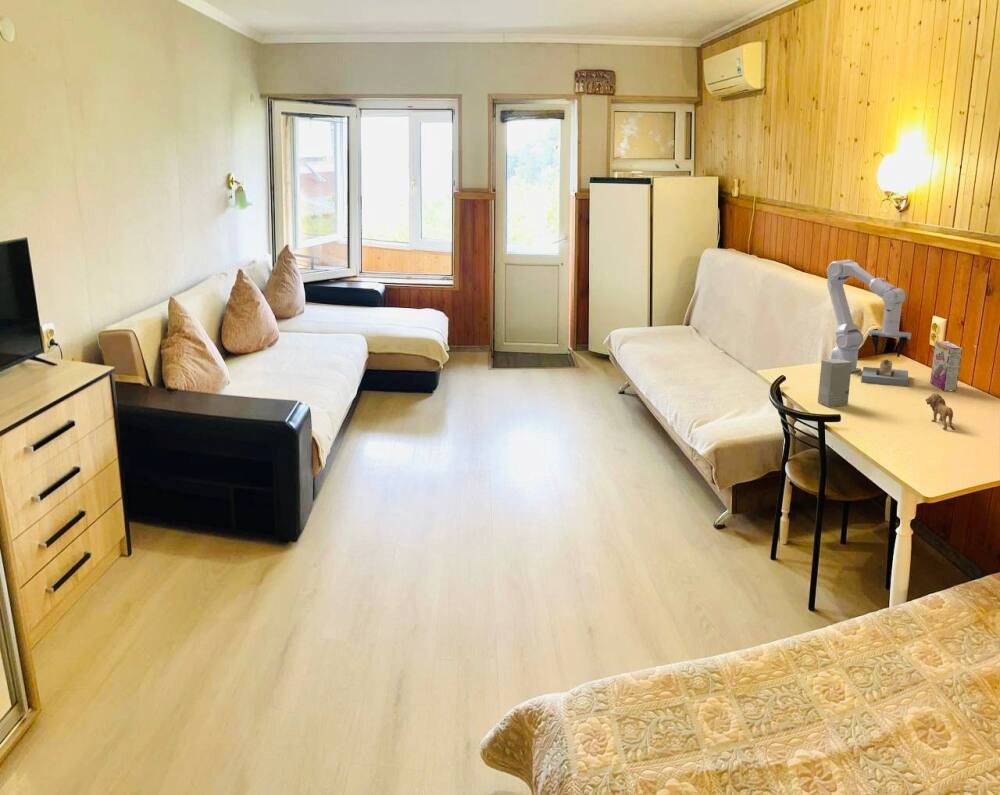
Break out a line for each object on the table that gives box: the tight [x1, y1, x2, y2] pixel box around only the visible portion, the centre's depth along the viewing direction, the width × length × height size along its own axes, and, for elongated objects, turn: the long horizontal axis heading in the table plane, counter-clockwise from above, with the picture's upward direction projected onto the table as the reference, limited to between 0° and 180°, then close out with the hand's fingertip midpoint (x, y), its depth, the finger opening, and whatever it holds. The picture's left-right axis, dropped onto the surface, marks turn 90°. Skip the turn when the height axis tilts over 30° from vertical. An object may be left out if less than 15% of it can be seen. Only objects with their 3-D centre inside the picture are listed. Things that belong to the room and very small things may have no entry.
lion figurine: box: [925, 392, 956, 431], centre depth 270 cm, size 15×5×9 cm, turn 5°
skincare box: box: [817, 358, 852, 408], centre depth 292 cm, size 8×7×16 cm
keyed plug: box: [879, 359, 893, 376], centre depth 320 cm, size 4×6×7 cm, turn 155°
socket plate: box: [860, 366, 909, 387], centre depth 321 cm, size 16×14×2 cm
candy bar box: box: [929, 340, 963, 392], centre depth 308 cm, size 11×5×16 cm, turn 179°
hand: (887, 355), depth 319 cm, fingers open, 7 cm apart
